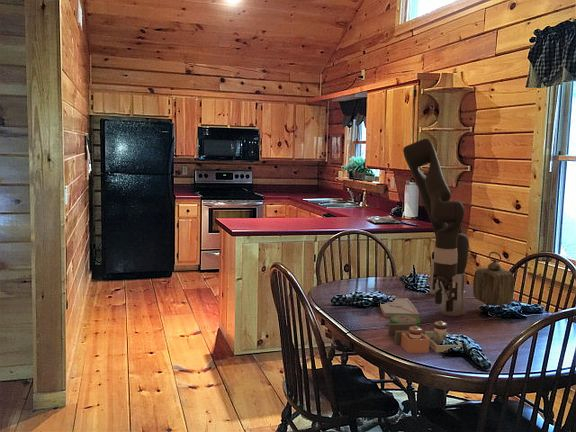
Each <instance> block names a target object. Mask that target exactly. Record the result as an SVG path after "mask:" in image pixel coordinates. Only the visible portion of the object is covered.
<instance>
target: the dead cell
mask: <svg viewBox="0 0 576 432" xmlns="http://www.w3.org/2000/svg"><path fill="white" fill-rule="evenodd" d="M422 330H423V329H422V327H421V326H420V327H418V326H412V327H409V339H421V336H422Z"/></svg>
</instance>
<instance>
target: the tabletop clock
mask: <svg viewBox="0 0 576 432" xmlns="http://www.w3.org/2000/svg"><path fill="white" fill-rule="evenodd" d="M492 254H495V255H497V256H498V257H499V260H497V259H496V258H493V259H492V258H491V255H492ZM488 258H489V260H490V261H491V263H489V264H488V265H487V267H480V268H477V269H476V270H475V272H474V275H473V276H474V277H473V285H472V286H473V287H472V288H473V297H474V298H475V300H478V301H480V302H482V303H483V304H485V305H487V307H485V309H487V308H488V309H489V307H490V306H492V307H495V306H499V307H501V309H502V308H504V306H505V305H511V304H512V302H513V300H514V299H513V298H514V292H515V279H514V274H513V273H512V272H511V271H509V270H508V269H507V270H506V269H505V268H502V267H501V265H500V262H501V261H502V256H501V254H500V253H498V252H497V251H490V252H489V254H488ZM485 309H484V310H485ZM504 309H505V308H504Z"/></svg>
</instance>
